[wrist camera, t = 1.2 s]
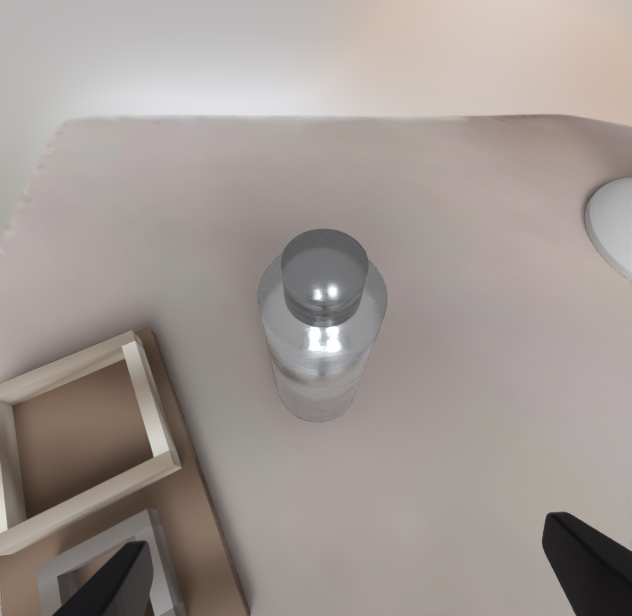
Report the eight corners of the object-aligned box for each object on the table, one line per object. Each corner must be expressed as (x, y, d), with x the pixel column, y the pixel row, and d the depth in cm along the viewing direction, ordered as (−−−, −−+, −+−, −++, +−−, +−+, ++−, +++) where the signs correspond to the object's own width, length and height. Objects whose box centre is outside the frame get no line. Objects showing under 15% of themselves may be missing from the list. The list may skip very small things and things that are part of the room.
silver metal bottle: (340, 434, 23) (372, 350, 11) (265, 404, 23) (224, 297, 12) (365, 362, 25) (413, 231, 14) (296, 336, 26) (287, 193, 14)
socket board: (250, 614, 18) (242, 627, 16) (32, 752, 16) (-11, 789, 14) (154, 333, 26) (140, 316, 23) (-6, 399, 23) (-39, 387, 21)
